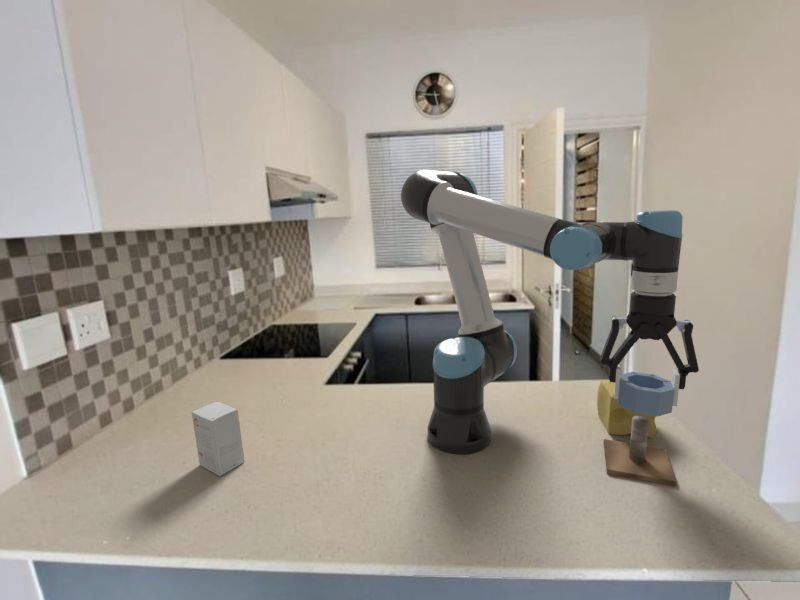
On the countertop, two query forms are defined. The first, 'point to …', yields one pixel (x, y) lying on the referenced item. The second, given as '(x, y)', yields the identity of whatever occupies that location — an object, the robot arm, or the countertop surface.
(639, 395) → the ring
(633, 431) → the post
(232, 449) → the small box
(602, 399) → the cheese
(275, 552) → the countertop surface
